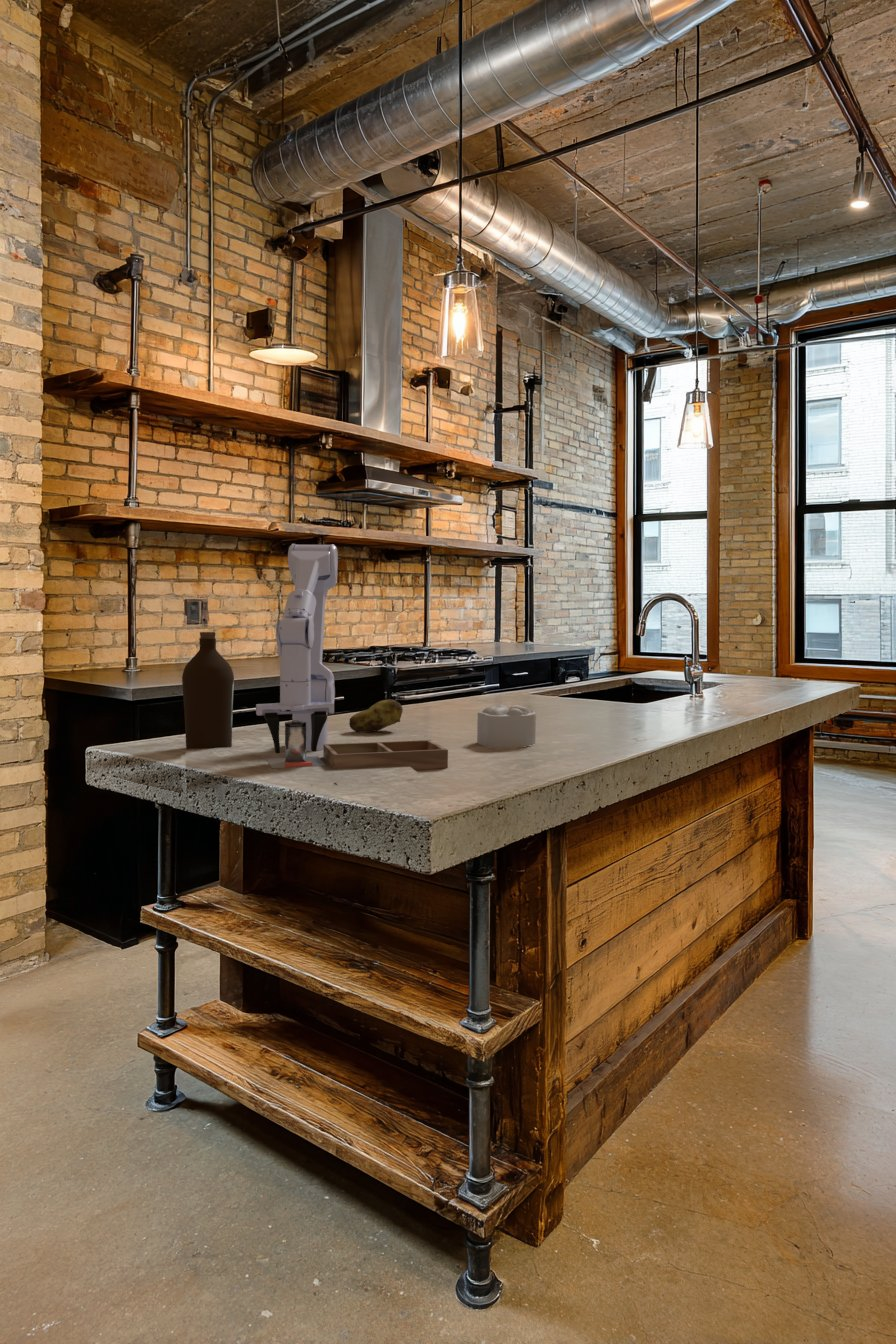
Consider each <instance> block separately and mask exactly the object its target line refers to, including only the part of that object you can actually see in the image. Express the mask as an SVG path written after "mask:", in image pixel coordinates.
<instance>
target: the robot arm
mask: <svg viewBox="0 0 896 1344" xmlns="http://www.w3.org/2000/svg"><path fill="white" fill-rule="evenodd" d="M338 557H339V554H338V548H337V546H336V545H335V544H333V543H332V544H296V543H291V545H289V547H288V551H287V565H288V569H289V572H290V576H291V580H292V582H293V586H294V589H293V590H292V591H291V592H289V593H288V595H287V596H286V597H287V598H286V603H285V607H284V611H283V616H282V618H281V619H278V621H277V622H276V627H275V637H276V645H277V654H278V657H279V694H280V695H279V702H275V703H273V702H272V703H257V704H255V714H256V715H255V716H263V718H264V719H265V722H266V724H267V726H268V727H267V728H268V729H269V733H270V734H271V738H272V741H273V742H272V743H273V747H274V753H275V754H280V753H281V745H280V743H281V742H280V720H281V719H280V718H279V715H292V720H299V721H303V722H306V752H312V753H314V752H316V753H317V752H318V751H323V744H328V714H335V697H336V687H335V676H334V673H333V671H332V670H331V669H329V668H328V667H327V666H325V665H324V664H323V655H324V654H323V652H324V630H325V617H326V615H325V613H326V599H327V596H328V594H329V593H328V592H329V590H331V589H333V588H335V587H336V583H337V581H338V566H339V565H338V563H339V558H338Z"/></svg>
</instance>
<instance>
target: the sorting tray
mask: <svg viewBox="0 0 896 1344" xmlns="http://www.w3.org/2000/svg"><path fill="white" fill-rule="evenodd" d="M322 751H323V758H324V760H326V762H327V763H328V764H329V765H330V766H331V767H332V769H334V770H335V769H353V768H355V769H356V768H373V767H374V768H375V767H395V766H408V767H410V768H411V769H413V770H431V769H448V768H449V767H448V765H449V761H448V760H449V759H448V758H449V749H447V748H445V747H443V746H441V745H440V744H438V743H437V742H435V741H432V740H431V739H424V740H423V739H422V740H421V739H420V740H400V741H395V740H393V741H377V742H375V741H374V742H373V741H372V742H353V743H352V742H349V743H348V742H347V743H327V744H323V750H322Z"/></svg>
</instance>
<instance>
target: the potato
mask: <svg viewBox="0 0 896 1344" xmlns="http://www.w3.org/2000/svg"><path fill="white" fill-rule="evenodd" d="M403 709H404V708H403V705H402V704H401V703H400V702H398V700H395V699H391V698H388V699H382V700H379V701H377V702H376V703H374V704H373V705H371V706H370V707H369V708H368V709H364V710H361V711H360V712H357V713H355V714H353V715H352V716H350V718H349V723H348V724H349V727H350V729H351V730H353V731H354V732H356V733H360V732H362V733H365V732H366V733H370V732H377V731H381V730H383V729H384V728H387V727H390V726H393V725H396V724H397V723H400V722H401V717H402V714H403V711H404V710H403Z"/></svg>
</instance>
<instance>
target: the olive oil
mask: <svg viewBox="0 0 896 1344" xmlns="http://www.w3.org/2000/svg"><path fill="white" fill-rule="evenodd" d="M234 675H235V674H234V672H233V669H232V666H231V665H230V663H229V662H228V661H227V660H226V659H225V658H224V657H223V655H221V653H219V652H218V650H217V639H216V631H200V632H199V650H198V651H197V652H196V654H195V655H194V656H193V657H192V658H191V659H190V660H189V661H188V662H187V663H186V665H185V667H184V668H183V672H182V675H181V681H182V682H181V684H182V696H183V711H184V714H183V715H184V730H185V731H184V733H185V749H186V750H196V749H198V750H199V749H201V750H202V749H220V748H222V749H223V748H228V749H229V748H232V747H233V715H234V714H233V710H234V689H235V688H234V687H235V676H234Z"/></svg>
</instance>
